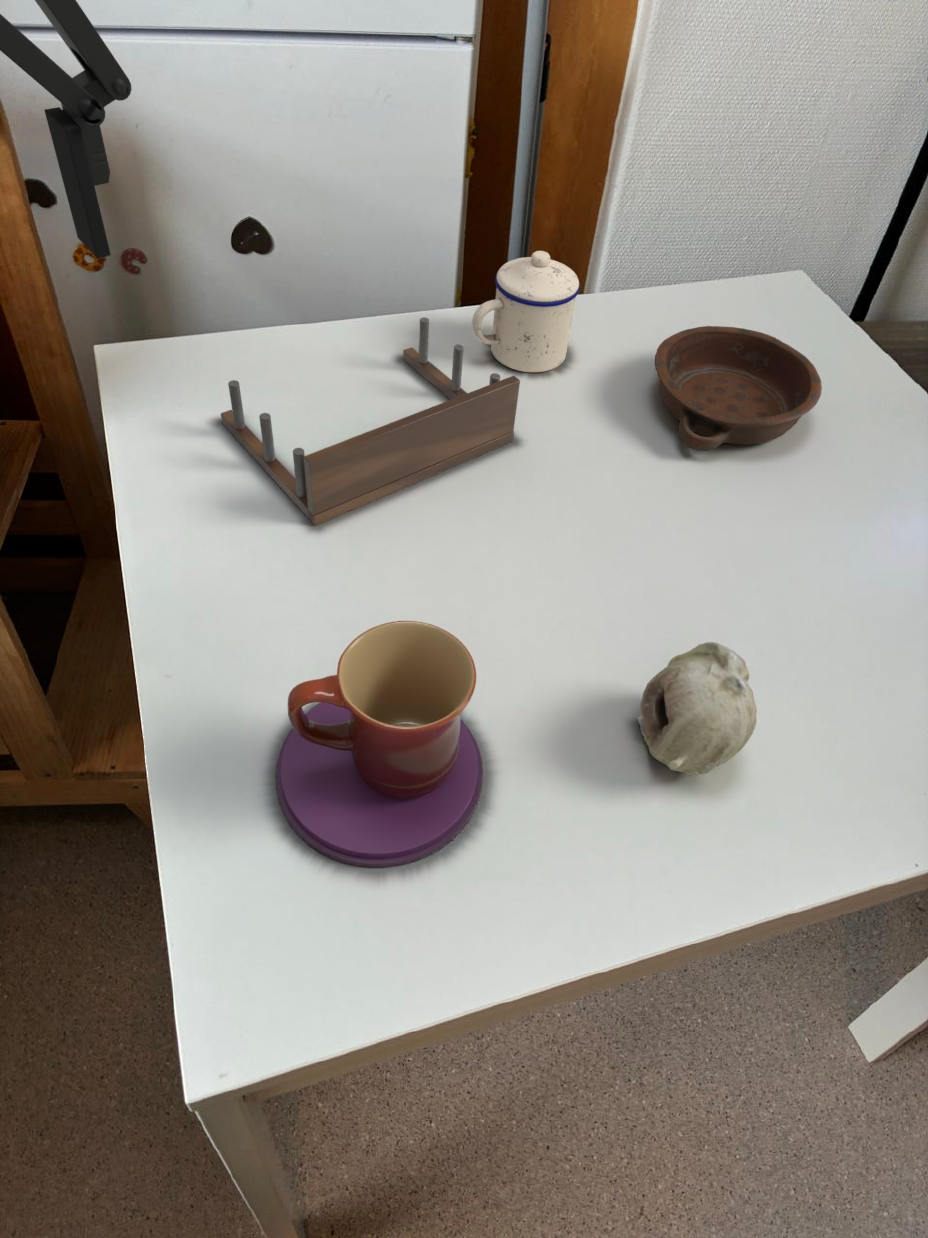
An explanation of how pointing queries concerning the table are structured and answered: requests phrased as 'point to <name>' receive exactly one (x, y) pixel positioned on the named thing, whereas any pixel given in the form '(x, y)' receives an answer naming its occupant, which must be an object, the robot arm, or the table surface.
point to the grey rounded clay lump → (698, 709)
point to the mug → (394, 706)
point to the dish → (734, 385)
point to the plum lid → (370, 801)
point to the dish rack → (389, 441)
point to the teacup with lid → (530, 313)
